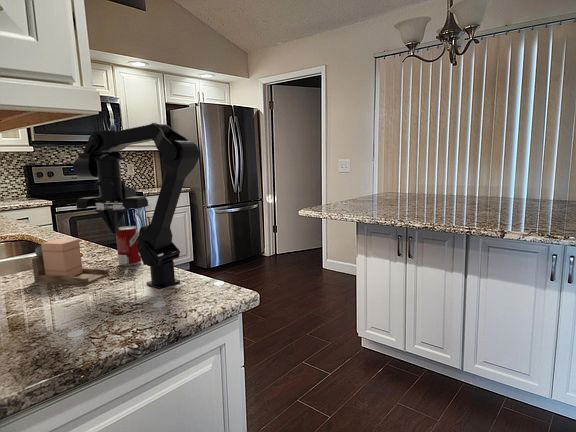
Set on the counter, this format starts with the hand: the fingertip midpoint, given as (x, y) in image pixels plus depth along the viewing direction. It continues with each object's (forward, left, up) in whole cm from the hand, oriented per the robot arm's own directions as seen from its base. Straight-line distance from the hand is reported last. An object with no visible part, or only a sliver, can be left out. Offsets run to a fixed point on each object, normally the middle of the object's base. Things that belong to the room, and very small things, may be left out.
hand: (115, 233), depth 105 cm
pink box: (+14, +9, -12) cm, 20 cm away
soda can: (+11, -9, -13) cm, 19 cm away
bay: (+11, +8, -13) cm, 19 cm away
